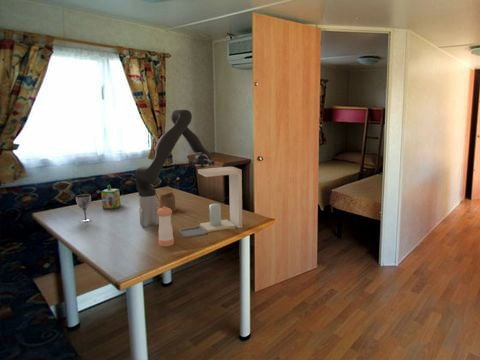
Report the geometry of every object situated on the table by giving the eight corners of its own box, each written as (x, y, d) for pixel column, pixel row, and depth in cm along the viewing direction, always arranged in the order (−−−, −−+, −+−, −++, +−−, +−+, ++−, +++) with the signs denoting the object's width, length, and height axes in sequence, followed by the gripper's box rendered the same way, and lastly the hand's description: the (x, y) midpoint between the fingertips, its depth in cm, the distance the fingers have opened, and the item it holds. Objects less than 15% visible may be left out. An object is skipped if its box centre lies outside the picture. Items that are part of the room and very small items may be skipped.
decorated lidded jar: (115, 208, 233) (113, 186, 230) (102, 208, 233) (100, 186, 230) (121, 205, 242) (119, 183, 239) (108, 204, 242) (106, 183, 240)
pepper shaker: (155, 246, 168) (152, 207, 164) (166, 241, 174) (164, 203, 170) (166, 249, 164) (164, 209, 160) (177, 244, 170) (175, 205, 166)
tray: (184, 239, 176) (184, 236, 175) (178, 232, 186) (178, 229, 186) (207, 235, 181) (207, 232, 180) (200, 228, 191) (199, 226, 191)
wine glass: (87, 217, 214) (85, 193, 211) (96, 219, 210) (93, 195, 207) (75, 221, 207) (72, 196, 204) (84, 223, 203) (81, 198, 200)
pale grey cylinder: (212, 227, 188) (211, 207, 185) (208, 223, 193) (207, 204, 191) (223, 225, 190) (222, 205, 188) (218, 222, 196) (217, 202, 193)
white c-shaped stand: (207, 233, 184) (205, 173, 177) (199, 227, 194) (197, 169, 188) (242, 227, 192) (241, 169, 186) (233, 221, 203) (232, 166, 196)
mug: (146, 211, 226) (145, 192, 224) (171, 206, 237) (170, 188, 235) (155, 215, 218) (154, 196, 215) (180, 209, 229) (179, 191, 227)
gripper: (190, 154, 214) (188, 157, 198) (214, 154, 215) (214, 157, 199) (190, 166, 215) (189, 171, 199) (214, 166, 216) (214, 170, 200)
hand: (201, 164), depth 199 cm, fingers open, 8 cm apart
